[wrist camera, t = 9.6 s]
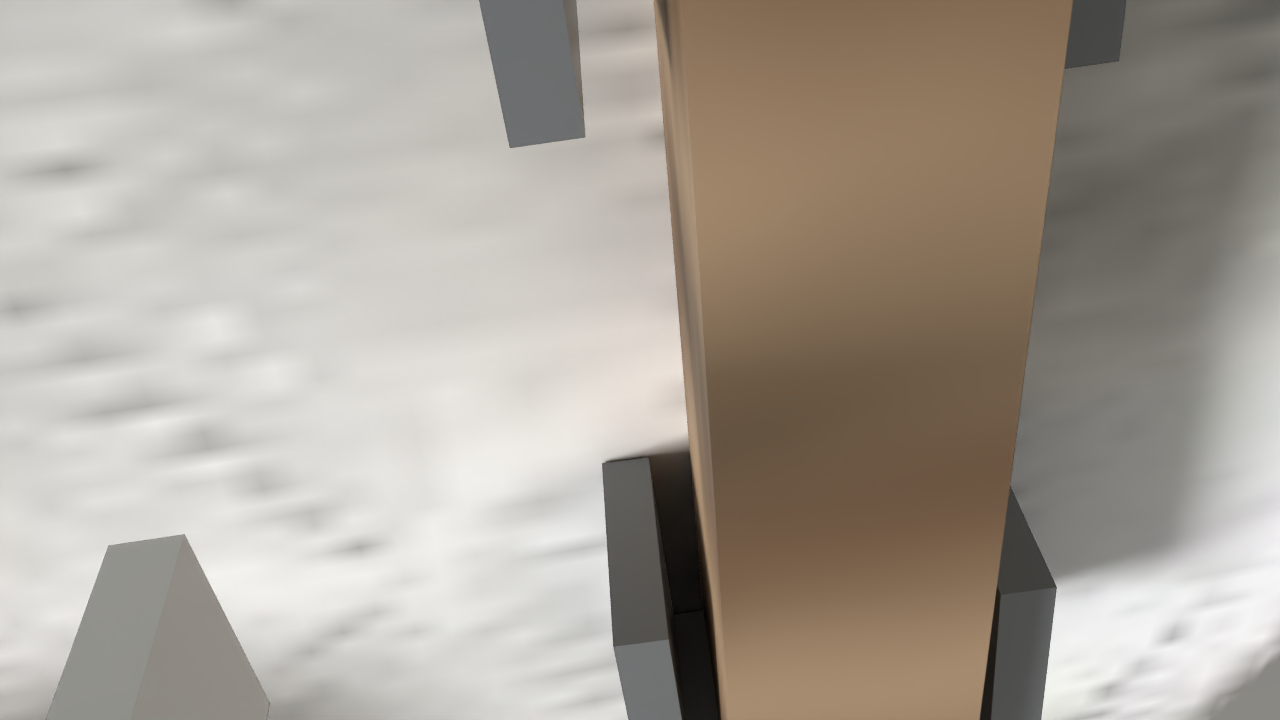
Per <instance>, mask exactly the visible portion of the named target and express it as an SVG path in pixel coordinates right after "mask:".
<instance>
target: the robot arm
mask: <svg viewBox="0 0 1280 720" xmlns="http://www.w3.org/2000/svg"><path fill="white" fill-rule="evenodd" d="M269 706H270V702H269V700H268V698H267V696H266V694H265V692H264V690H263V689H262V687H261V685H260V683H259V681H258V679H257V677H256V675H255V673H254V671H253V669H252V667H251V665H250V663H249V661H248V659H247V657H246V655H245V653H244V651H243V649H242V647H241V645H240V643H239V641H238V639H237V637H236V635H235V633H234V631H233V629H232V627H231V625H230V623H229V621H228V619H227V617H226V615H225V613H224V611H223V609H222V607H221V605H220V603H219V602H218V600H217V598H216V596H215V594H214V592H213V590H212V588H211V586H210V584H209V582H208V580H207V578H206V576H205V574H204V572H203V570H202V568H201V566H200V564H199V562H198V560H197V558H196V556H195V554H194V552H193V550H192V548H191V546H190V544H189V542H188V540H187V538H186V536H185V534H184V535H177V536H170V537H163V538H157V539H150V540H143V541H136V542H129V543H123V544H116V545H109V546H108V548H107V551H106V554H105V557H104V559H103V562H102V565H101V568H100V571H99V573H98V576H97V579H96V582H95V585H94V587H93V590H92V593H91V596H90V598H89V601H88V604H87V607H86V610H85V612H84V615H83V618H82V621H81V623H80V626H79V629H78V632H77V635H76V637H75V640H74V643H73V646H72V649H71V651H70V654H69V657H68V660H67V662H66V665H65V668H64V671H63V674H62V676H61V679H60V682H59V685H58V688H57V690H56V693H55V696H54V699H53V701H52V704H51V707H50V710H49V713H48V715H47V718H46V720H267V716H268V711H269Z"/></svg>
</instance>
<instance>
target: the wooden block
mask: <svg viewBox="0 0 1280 720" xmlns="http://www.w3.org/2000/svg"><path fill="white" fill-rule="evenodd" d="M1072 4H1073V0H654V11H655V23H656V36H657V48H658V61H659V73H660V86H661V98H662V111H663V123H664V136H665V148H666V161H667V173H668V186H669V198H670V211H671V223H672V236H673V248H674V261H675V273H676V286H677V298H678V311H679V323H680V336H681V348H682V361H683V373H684V386H685V398H686V411H687V423H688V436H689V448H690V461H691V473H692V486H693V498H694V510H695V523H696V535H697V548H698V560H699V573H700V585H701V596H702V603H703V610H704V617H705V624H706V631H707V638H708V645H709V652H710V660H711V667H712V674H713V681H714V688H715V695H716V702H717V709H718V716H719V720H980V712H981V704H982V696H983V689H984V681H985V673H986V666H987V658H988V650H989V643H990V635H991V627H992V620H993V612H994V604H995V596H996V589H997V581H998V573H999V566H1000V558H1001V550H1002V543H1003V535H1004V527H1005V520H1006V512H1007V504H1008V497H1009V489H1010V481H1011V473H1012V466H1013V458H1014V450H1015V443H1016V435H1017V427H1018V420H1019V412H1020V404H1021V397H1022V389H1023V381H1024V373H1025V366H1026V358H1027V350H1028V343H1029V335H1030V327H1031V320H1032V312H1033V304H1034V297H1035V289H1036V281H1037V273H1038V266H1039V258H1040V250H1041V243H1042V235H1043V227H1044V220H1045V212H1046V204H1047V197H1048V189H1049V181H1050V173H1051V166H1052V158H1053V150H1054V143H1055V135H1056V127H1057V120H1058V112H1059V104H1060V97H1061V89H1062V81H1063V73H1064V66H1065V58H1066V50H1067V43H1068V35H1069V27H1070V20H1071V12H1072Z"/></svg>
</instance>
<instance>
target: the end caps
mask: <svg viewBox="0 0 1280 720" xmlns="http://www.w3.org/2000/svg"><path fill="white" fill-rule="evenodd" d="M479 2H480V7H481V12H482V16H483V21H484V26H485V31H486V36H487V41H488V45H489V50H490V55H491V60H492V65H493V69H494V74H495V79H496V84H497V89H498V93H499V98H500V103H501V108H502V113H503V118H504V122H505V127H506V132H507V137H508V142H509V146H510V148H514V147H521V146H528V145H535V144H542V143H549V142H556V141H563V140H570V139H577V138H584V137H585V125H584V110H583V95H582V80H581V65H580V50H579V35H578V19H577V4H576V0H479ZM1125 5H1126V0H1073V4H1072V12H1071V20H1070V27H1069V35H1068V43H1067V50H1066V58H1065V66H1064V69H1067V68H1074V67H1081V66H1088V65H1095V64H1102V63H1109V62H1116V61H1119V56H1120V47H1121V39H1122V31H1123V22H1124V14H1125ZM602 469H603V485H604V501H605V518H606V534H607V550H608V567H609V583H610V599H611V615H612V632H613V647H614V652H615V657H616V662H617V666H618V671H619V676H620V681H621V686H622V691H623V695H624V700H625V705H626V710H627V715H628V719H629V720H719V716H718V709H717V702H716V695H715V688H714V681H713V674H712V667H711V660H710V652H709V645H708V638H707V631H706V624H705V617H704V611H696V612H689V613H681V614H674V613H673V607H672V601H671V595H670V588H669V582H668V576H667V569H666V563H665V557H664V550H663V544H662V538H661V532H660V525H659V519H658V513H657V506H656V500H655V494H654V488H653V481H652V475H651V469H650V462H649V457H646V458H639V459H632V460H624V461H617V462H610V463H602ZM1056 589H1057V587H1056V585H1055V583H1054V580H1053V578H1052V576H1051V574H1050V572H1049V570H1048V567H1047V565H1046V563H1045V561H1044V559H1043V556H1042V554H1041V552H1040V550H1039V548H1038V546H1037V543H1036V541H1035V539H1034V537H1033V535H1032V533H1031V530H1030V528H1029V526H1028V524H1027V522H1026V519H1025V517H1024V515H1023V513H1022V511H1021V509H1020V506H1019V504H1018V502H1017V500H1016V498H1015V495H1014V493H1013V491H1012V489H1011V487H1010V489H1009V497H1008V504H1007V512H1006V520H1005V527H1004V535H1003V543H1002V550H1001V558H1000V566H999V573H998V581H997V589H996V596H995V604H994V612H993V620H992V627H991V635H990V643H989V650H988V658H987V666H986V673H985V681H984V689H983V696H982V704H981V712H980V720H1041V716H1042V707H1043V699H1044V691H1045V682H1046V674H1047V665H1048V657H1049V648H1050V640H1051V631H1052V623H1053V614H1054V606H1055V597H1056Z"/></svg>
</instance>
